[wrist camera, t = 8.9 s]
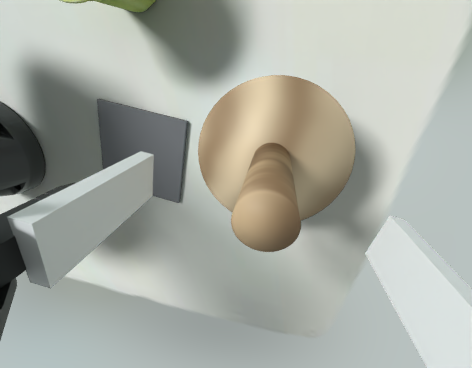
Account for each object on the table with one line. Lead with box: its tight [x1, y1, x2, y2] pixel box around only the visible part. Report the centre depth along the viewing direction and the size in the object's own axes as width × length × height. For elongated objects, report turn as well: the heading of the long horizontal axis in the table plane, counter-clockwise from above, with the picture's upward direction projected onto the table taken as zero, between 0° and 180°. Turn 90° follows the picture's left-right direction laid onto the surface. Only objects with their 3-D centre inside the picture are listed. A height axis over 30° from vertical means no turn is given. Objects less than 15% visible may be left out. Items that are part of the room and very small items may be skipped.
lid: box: [198, 75, 355, 252], centre depth 16 cm, size 14×14×12 cm
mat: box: [97, 99, 188, 203], centre depth 29 cm, size 12×12×1 cm
